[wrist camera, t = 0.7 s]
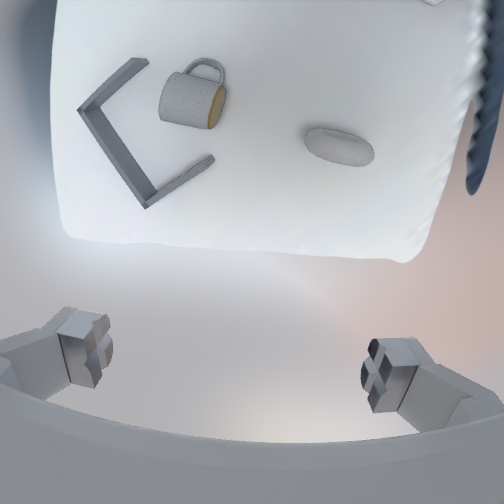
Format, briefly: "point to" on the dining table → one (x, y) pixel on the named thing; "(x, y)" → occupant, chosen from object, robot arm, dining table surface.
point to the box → (117, 148)
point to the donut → (339, 147)
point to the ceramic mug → (193, 98)
